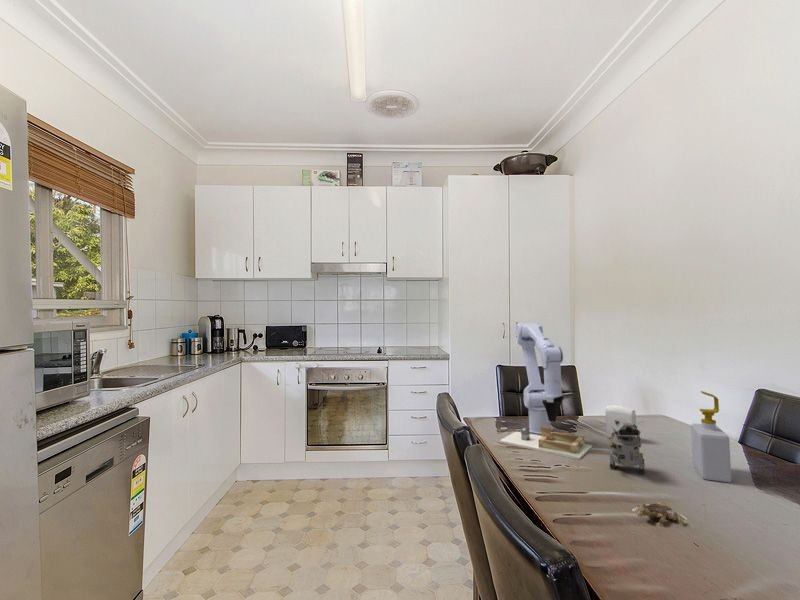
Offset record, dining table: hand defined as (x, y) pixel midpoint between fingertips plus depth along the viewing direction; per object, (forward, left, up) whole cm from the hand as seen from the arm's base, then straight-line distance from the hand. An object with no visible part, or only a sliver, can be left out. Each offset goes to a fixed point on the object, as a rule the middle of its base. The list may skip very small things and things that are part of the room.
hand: (553, 418), depth 143 cm
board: (+3, -3, -9) cm, 10 cm away
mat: (+3, +4, -9) cm, 10 cm away
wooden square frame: (+2, +3, -8) cm, 9 cm away
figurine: (+12, +25, -10) cm, 29 cm away
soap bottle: (-1, +44, -10) cm, 45 cm away
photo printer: (-20, +17, -10) cm, 28 cm away
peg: (+3, -10, -9) cm, 13 cm away
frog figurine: (+36, +37, -10) cm, 52 cm away
